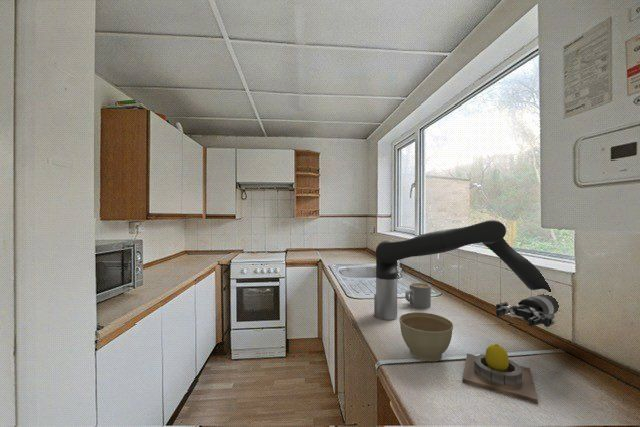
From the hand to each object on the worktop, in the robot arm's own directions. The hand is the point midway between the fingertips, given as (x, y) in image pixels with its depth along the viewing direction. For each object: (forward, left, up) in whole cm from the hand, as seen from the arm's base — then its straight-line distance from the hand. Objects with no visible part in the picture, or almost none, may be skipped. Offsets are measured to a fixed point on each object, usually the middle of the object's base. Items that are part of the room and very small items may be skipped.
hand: (513, 317), depth 83 cm
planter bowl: (-24, -7, -14) cm, 29 cm away
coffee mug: (-37, +42, -14) cm, 58 cm away
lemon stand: (-4, -10, -14) cm, 18 cm away
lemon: (-4, -10, -13) cm, 17 cm away
